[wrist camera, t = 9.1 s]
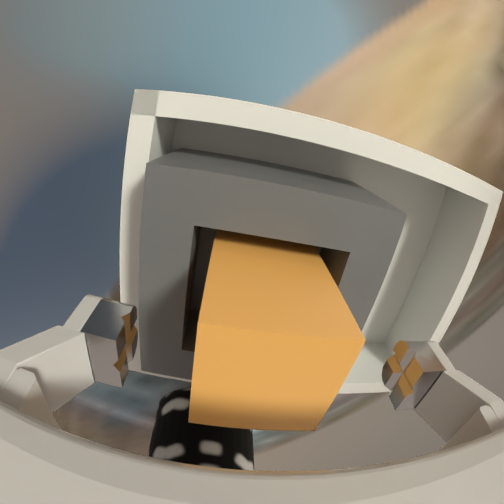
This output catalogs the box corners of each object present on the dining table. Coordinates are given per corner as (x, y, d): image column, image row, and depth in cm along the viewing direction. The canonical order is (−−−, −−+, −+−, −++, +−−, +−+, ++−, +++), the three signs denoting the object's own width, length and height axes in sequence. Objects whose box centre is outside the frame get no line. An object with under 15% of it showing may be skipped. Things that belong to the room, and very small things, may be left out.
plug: (309, 236, 13) (365, 340, 7) (287, 311, 15) (314, 430, 8) (218, 220, 13) (198, 322, 6) (206, 299, 14) (188, 422, 8)
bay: (456, 173, 16) (528, 202, 10) (385, 348, 21) (419, 411, 15) (163, 98, 14) (114, 83, 8) (144, 321, 19) (116, 395, 13)
